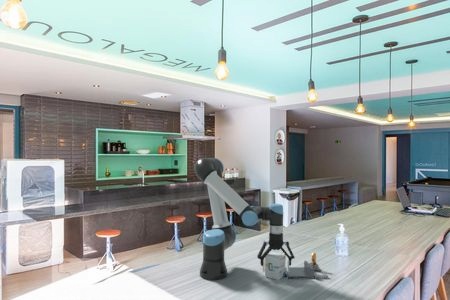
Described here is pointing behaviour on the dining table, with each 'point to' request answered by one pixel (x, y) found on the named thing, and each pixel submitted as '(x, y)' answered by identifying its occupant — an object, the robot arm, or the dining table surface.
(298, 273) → the bed
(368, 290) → the dining table surface
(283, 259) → the ink box
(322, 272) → the rails
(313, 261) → the lever
